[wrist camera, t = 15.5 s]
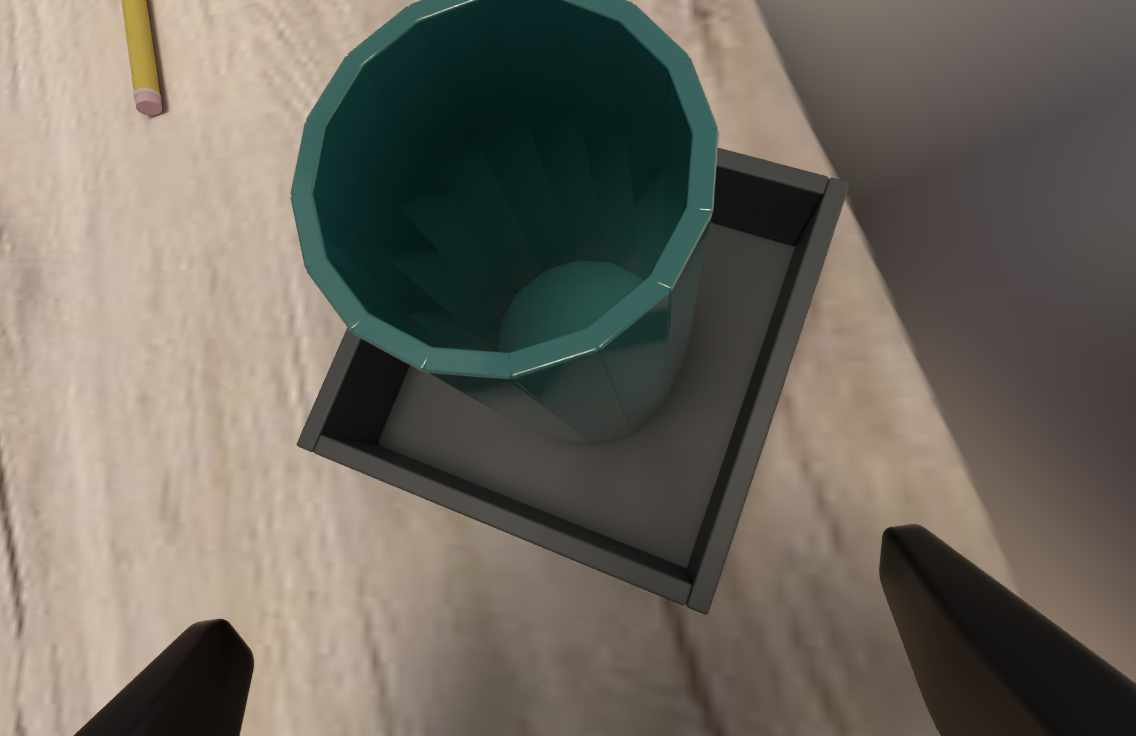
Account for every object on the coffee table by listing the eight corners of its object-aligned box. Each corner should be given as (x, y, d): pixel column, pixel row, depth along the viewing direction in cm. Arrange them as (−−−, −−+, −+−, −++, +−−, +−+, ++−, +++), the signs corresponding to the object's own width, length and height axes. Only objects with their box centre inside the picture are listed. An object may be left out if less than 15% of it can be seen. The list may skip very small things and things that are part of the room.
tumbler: (710, 411, 22) (783, 292, 9) (520, 469, 22) (337, 433, 10) (648, 234, 23) (637, -81, 11) (472, 291, 24) (260, 57, 11)
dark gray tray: (813, 243, 23) (850, 181, 18) (697, 590, 21) (707, 616, 17) (491, 151, 25) (455, 77, 21) (363, 455, 24) (294, 445, 19)
